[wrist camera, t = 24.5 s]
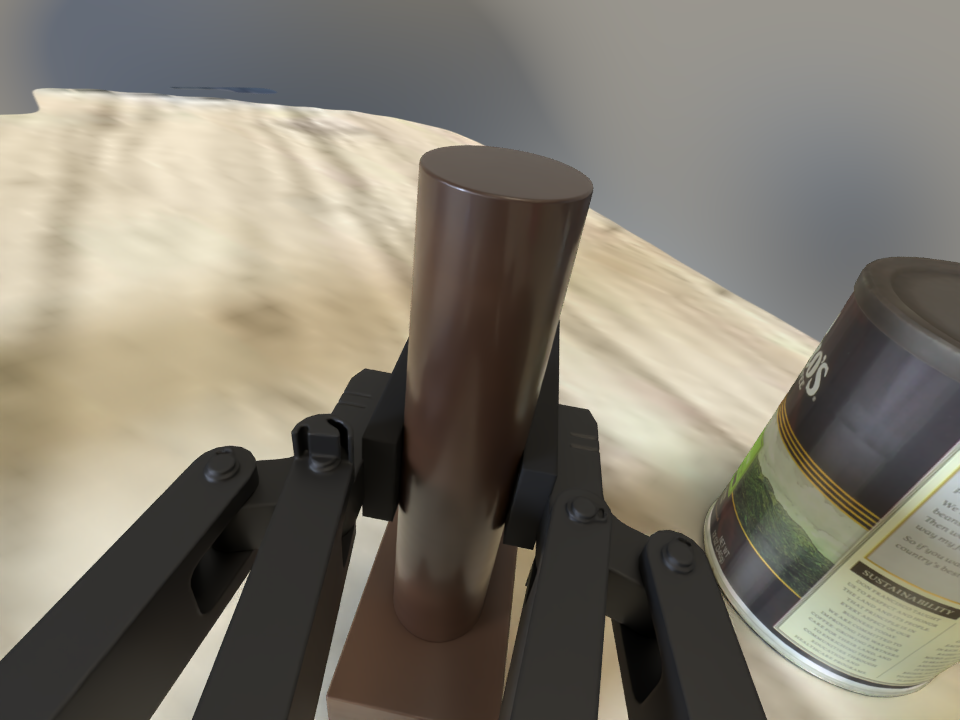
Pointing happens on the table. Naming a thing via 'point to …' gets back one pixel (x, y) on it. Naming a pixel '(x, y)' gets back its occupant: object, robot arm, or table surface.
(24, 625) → the table surface
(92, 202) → the table surface
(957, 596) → the coffee can
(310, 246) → the table surface
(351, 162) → the table surface
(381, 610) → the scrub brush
